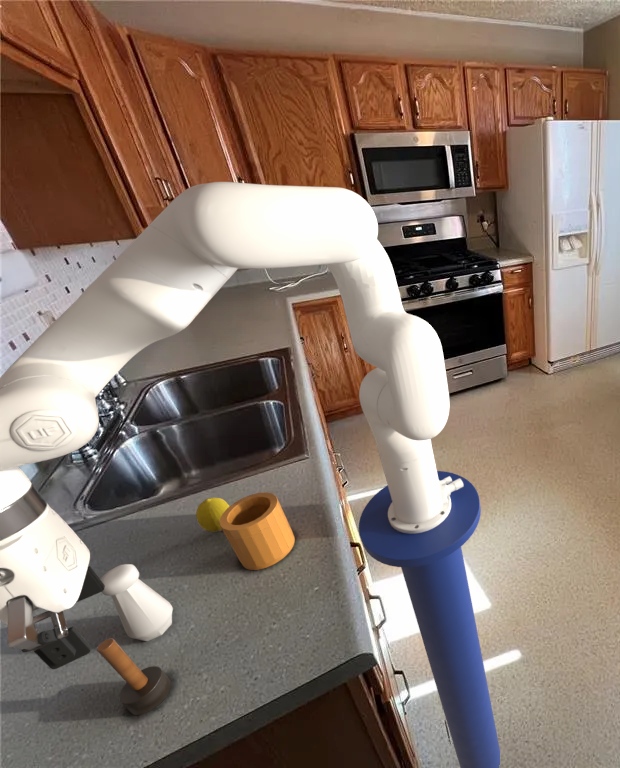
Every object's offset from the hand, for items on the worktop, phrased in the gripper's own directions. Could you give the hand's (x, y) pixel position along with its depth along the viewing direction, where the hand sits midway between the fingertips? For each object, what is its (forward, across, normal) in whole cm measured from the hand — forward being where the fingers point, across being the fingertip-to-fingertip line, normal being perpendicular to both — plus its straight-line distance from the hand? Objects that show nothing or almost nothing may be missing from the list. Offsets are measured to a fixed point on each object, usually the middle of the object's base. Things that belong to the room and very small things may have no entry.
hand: (81, 624), depth 49 cm
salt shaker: (+16, +12, -1) cm, 20 cm away
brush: (+16, 0, -1) cm, 16 cm away
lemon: (+16, +30, -11) cm, 36 cm away
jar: (+16, +18, -18) cm, 30 cm away
